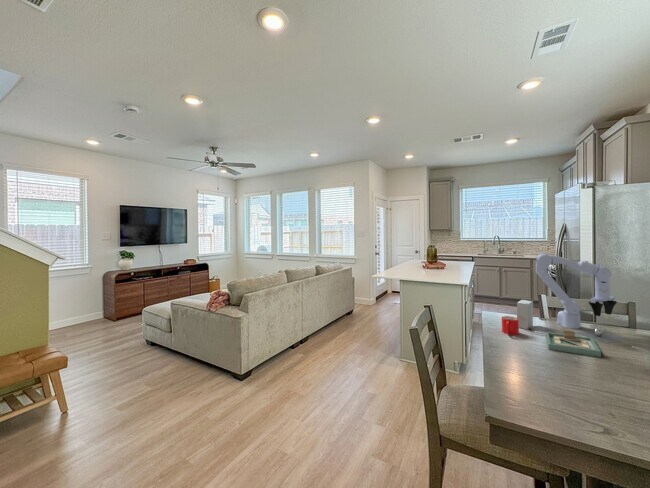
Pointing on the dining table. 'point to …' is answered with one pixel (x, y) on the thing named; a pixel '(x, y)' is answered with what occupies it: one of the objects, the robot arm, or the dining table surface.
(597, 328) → the stake
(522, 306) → the skincare box
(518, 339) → the dining table surface
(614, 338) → the stake board
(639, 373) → the dining table surface
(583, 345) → the tan wooden square frame
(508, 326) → the mug
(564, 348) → the tray
